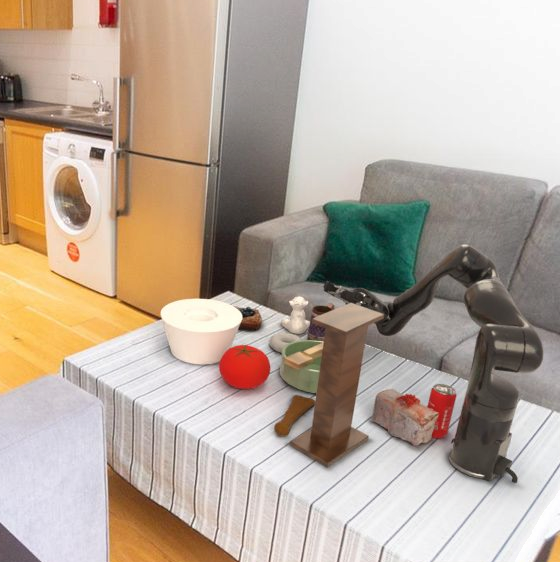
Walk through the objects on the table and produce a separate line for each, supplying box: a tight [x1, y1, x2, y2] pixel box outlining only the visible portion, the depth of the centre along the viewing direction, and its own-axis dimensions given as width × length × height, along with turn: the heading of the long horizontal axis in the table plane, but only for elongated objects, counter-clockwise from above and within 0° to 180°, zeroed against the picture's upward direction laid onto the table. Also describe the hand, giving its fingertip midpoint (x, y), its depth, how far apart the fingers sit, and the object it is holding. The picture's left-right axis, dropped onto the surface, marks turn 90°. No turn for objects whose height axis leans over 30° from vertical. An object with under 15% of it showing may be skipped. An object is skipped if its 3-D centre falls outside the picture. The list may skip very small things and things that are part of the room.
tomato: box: [218, 344, 271, 390], centre depth 158 cm, size 14×13×10 cm
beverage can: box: [427, 383, 457, 440], centre depth 137 cm, size 5×5×12 cm
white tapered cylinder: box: [160, 298, 242, 365], centre depth 175 cm, size 24×24×12 cm
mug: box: [306, 302, 336, 342], centre depth 181 cm, size 10×7×12 cm
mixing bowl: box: [279, 339, 323, 394], centre depth 161 cm, size 19×19×7 cm
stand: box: [289, 303, 384, 468], centre depth 130 cm, size 10×16×32 cm, turn 128°
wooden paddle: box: [285, 342, 324, 370], centre depth 160 cm, size 22×4×2 cm, turn 127°
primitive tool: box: [273, 394, 316, 437], centre depth 144 cm, size 19×6×4 cm, turn 150°
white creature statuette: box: [280, 296, 310, 335], centre depth 189 cm, size 10×9×12 cm
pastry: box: [232, 305, 263, 332], centre depth 194 cm, size 11×12×6 cm
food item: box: [371, 388, 439, 447], centre depth 137 cm, size 14×8×10 cm, turn 32°
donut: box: [269, 332, 302, 354], centre depth 178 cm, size 10×4×10 cm
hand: (339, 289), depth 157 cm, fingers open, 8 cm apart
